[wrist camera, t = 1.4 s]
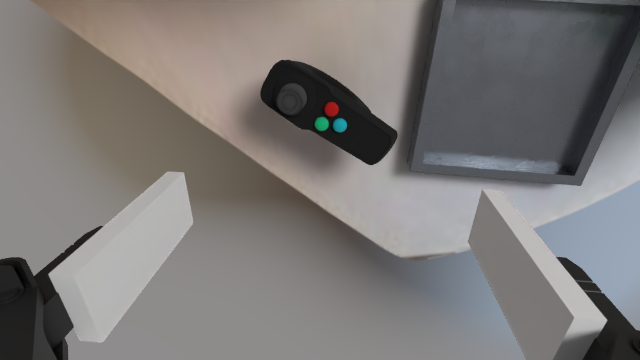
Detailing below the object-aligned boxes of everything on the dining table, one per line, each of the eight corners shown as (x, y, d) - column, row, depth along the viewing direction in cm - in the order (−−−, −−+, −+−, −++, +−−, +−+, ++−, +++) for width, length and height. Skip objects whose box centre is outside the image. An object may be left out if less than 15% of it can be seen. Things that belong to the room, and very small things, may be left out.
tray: (440, -17, 29) (447, -19, 27) (645, -6, 28) (670, -8, 26) (407, 161, 37) (410, 171, 34) (566, 174, 36) (580, 185, 33)
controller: (294, 43, 32) (270, 55, 23) (395, 112, 34) (410, 147, 25) (273, 81, 34) (244, 105, 25) (370, 145, 36) (376, 188, 27)
